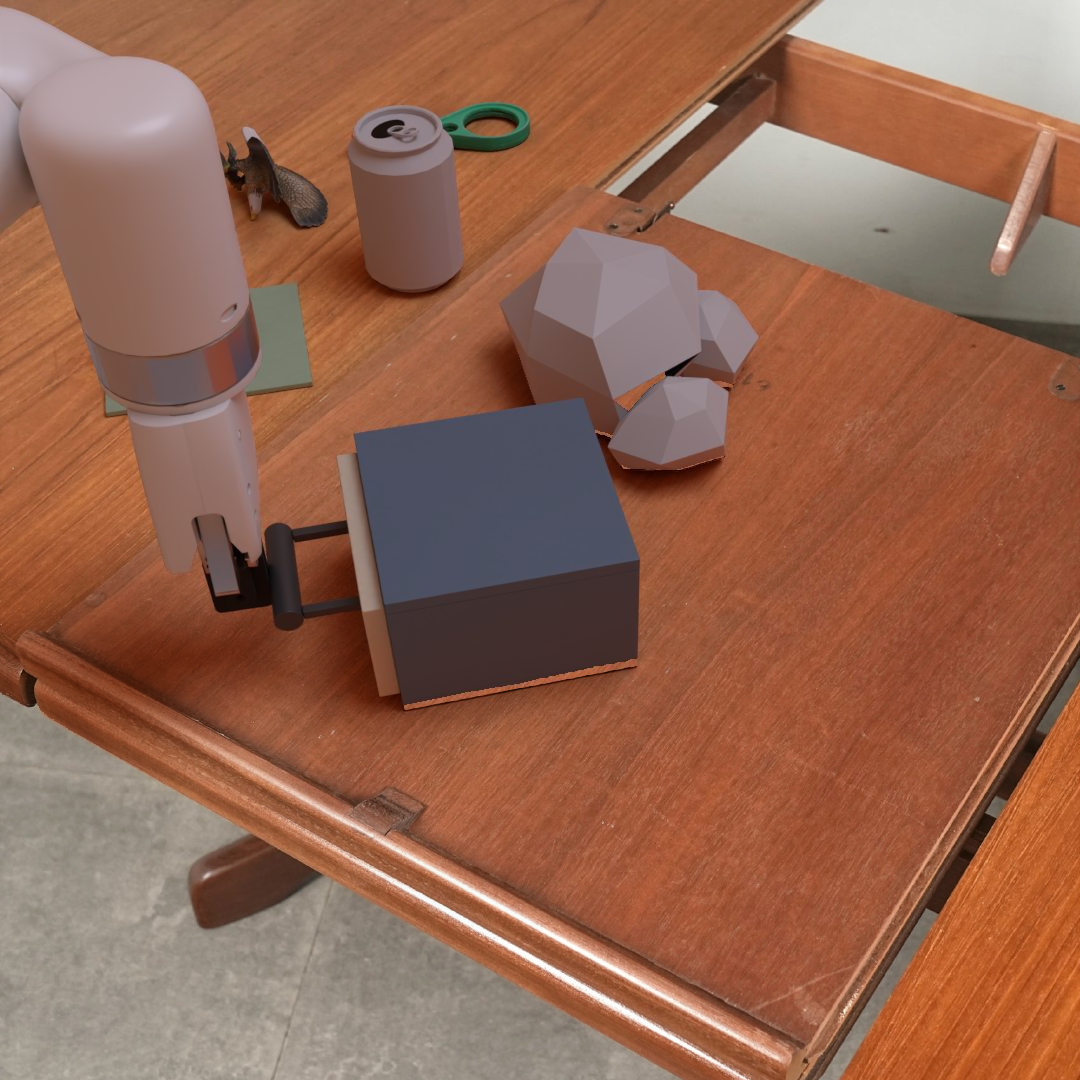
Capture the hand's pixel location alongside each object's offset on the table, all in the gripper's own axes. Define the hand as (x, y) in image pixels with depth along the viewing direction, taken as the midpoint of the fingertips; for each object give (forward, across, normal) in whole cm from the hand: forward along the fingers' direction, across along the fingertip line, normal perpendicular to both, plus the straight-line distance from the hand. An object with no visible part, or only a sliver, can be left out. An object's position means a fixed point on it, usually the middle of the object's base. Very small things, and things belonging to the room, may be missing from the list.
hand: (244, 598), depth 77 cm
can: (+5, -35, +14) cm, 38 cm away
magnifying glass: (+5, -53, +18) cm, 57 cm away
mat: (+5, -29, -2) cm, 29 cm away
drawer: (+3, 0, +10) cm, 11 cm away
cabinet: (+4, 0, +14) cm, 15 cm away
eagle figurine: (+5, -46, +4) cm, 46 cm away
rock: (+4, -18, +26) cm, 32 cm away
